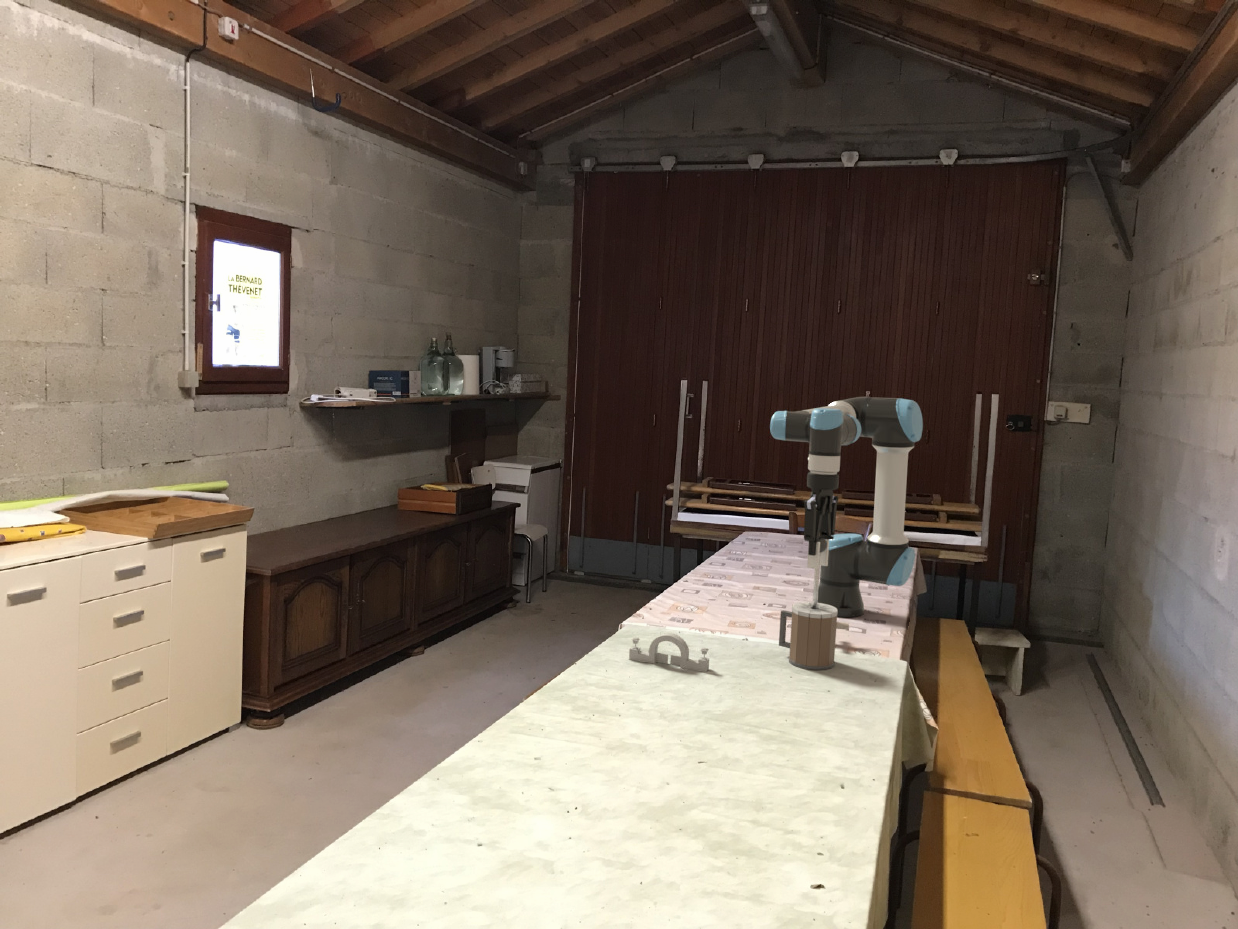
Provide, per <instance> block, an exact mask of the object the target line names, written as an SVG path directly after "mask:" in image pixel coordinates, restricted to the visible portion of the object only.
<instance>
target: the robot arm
mask: <svg viewBox="0 0 1238 929" xmlns="http://www.w3.org/2000/svg"><path fill="white" fill-rule="evenodd" d="M923 428H924V423H923V414H922V411H921V408H920V406H919V404H918V403H917V402H916V401H914V400H913V399H906V398H899V397H898V398H897V397H896V398H895V397H873V396H872V397H871V396H856V397H851V398H846V399H841V400H836V401H833V402H831V403H830V404H828V405H827V406H820V407H816V408H815V407H814V408H810V409H803V410H797V411H790V410H789V411H788V410H777V411H775V412H774V414H773V415H772V416H771V419H770V424H769V429H770V434H771V436H772V437H773V439H775V440H780V441H789V442H801V443H802V442H803V443H808V444H809V446H808V448H809V449H808V457H807V461H808V464H807V469H808V470H809V471H808V473H806V474H807V476H806V480H807V481H806V486H807V487H808V488H809V489H811V492H810V498H809V499H808V500H807V499H805V500H804V501H803V505H804V523H803V524H804V525H803V540H804V541H805V542H808V547H807V549H808V550H807V560H806V561H807V564H806V565H807V566H806V567H807V568H808V569H814V570H815V569H819V554H820V542H818V540H819V536H820V537H823V538H824V539H825V540H826V542H827V548H826V550H825V551H823V552H821V557H820V573H819V588H818V603H823V604H827V605H831V606H834V607H835V608H837V611H838V613H837V618H838V617H841V618H853V617H859V616H862V615H864V611H865V610H864V609H865V606H864V604H865V603H864V601H863V597H862V593H861V589H860V581H862V582H863V581H864V582H868V583H869V582H870V583H875V584H882V585H885V586H889V587H890V586H895V587H902V586H903V585H905V584H906V583H907V582H908V580H909V579H910V577H911V575H912V572H913V568H914V564H915V559H916V552H915V549H914V548H912V547H911V546H909V541H910V540H909V538H908V537H907V536H906V535H905V534H904V531H905V530H904V529H905V516H906V515H905V514H906V498H907V481H908V480H907V477H908V463H909V462H908V460H909V453H910V451H911V450H912V449H914V448H915V443H916V442H919V441H920V440H921V439H922V433H923V430H924V429H923ZM860 437H861V438H871V439H872V440H871V446H872V447H873V448H874V449H875V450H876V465H875V466H876V467H875V484H874V485H875V487H874V502H873V504H874V506H873V507H874V508H873V519H872V520H873V522H872V532H871V533H870V534H869V535H868V536H867V538H866V541H865V540H864V537H863V535H862V534H859V533H837V534H835V530H836V518H837V508H838V507H837V506H838V502H839V496H838V495H834V491H835V490H838V489H839V481H840V474H839V472H840V467H841V452H842V451H841V450H842V446H848V445H850V444H853V443H855V442H856V441H858V439H859V438H860Z"/></svg>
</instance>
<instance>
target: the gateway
mask: <svg viewBox="0 0 1238 929" xmlns="http://www.w3.org/2000/svg"><path fill="white" fill-rule="evenodd" d="M640 640H641V638H639V637H636V636H635V637H633V638H632V639H631V641H632V644H634V646H631V647H630V648H629V650H628V651H629V653H628V654H629V655H628V660H629V661H636V662H637V661H638V662H642V661H643V663H649V664H655V663H662V664H667V665H668V663H669V662H670V665H674V664H675V666H680V667H682V668H681V669H685V668H686V669H687V670H692V671H698V672H699V671H700V672H706V673H707V671H708V670H709V669H710V658H709V657H705V656H706V655H707V653H708V651H709V650H710V649H709V648H708V647H702V648H701V649H700V651H701V654H702V655H703V656H701V657H700V658H699V659H694V658H693V659H690V648H689V646H688V643H687V642H686V641H685V639H684V638H682V637H681V636H679V634H676V633H672V632H666V633H662V634H660V635H658V636H657V637H655V638H654V639H653V641H652V642H651V643H650V645H649V651H643V650H641V647H639V646H637V645H638V644H639V641H640ZM662 642H670V643H673V645H675V646H677V648H678V649H679V651H680V655H674V654H670V661H669V654H667V653H661V652H658V649H659V644H660V643H662Z"/></svg>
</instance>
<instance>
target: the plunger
mask: <svg viewBox="0 0 1238 929" xmlns="http://www.w3.org/2000/svg"><path fill="white" fill-rule="evenodd" d="M818 542H820V554H819V569H814V577H813V590H812V602H813V605H812V609H816V610H817V604H818V588H819V583H820V568H821V565H820V557H821V552H823V551H825V550H826V548H827V542H826V540H825V539H824V538H823V537H820V535H819V540H818Z"/></svg>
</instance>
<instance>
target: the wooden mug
mask: <svg viewBox="0 0 1238 929" xmlns="http://www.w3.org/2000/svg"><path fill="white" fill-rule="evenodd" d="M812 605H813V601H812V602H811V601H804V602H796V603H794V604H792V607H791V611H790V610H785V609H783V610H780V619H779V637H778V646H779V647H782V648H787V649H789V656H788V663H789V664H791V665H792V666H793V667H796V668H799V669H803V670H809V671H825V670H827V671H828V670H830V669H832V668H834V666H835V655H836V654H835V652H836V639H837V629H836V625H837V622H838V617H837V613H838V611H837V608H835V607H833V606H831V605H827V604H823V603H818V604H817V610H816V609H812ZM787 618H791V623H790V624H791V625H790V627H791V628H790V639H789V640H790V641H789V642H788V641H786V636H787V634H786V632H787Z"/></svg>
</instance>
